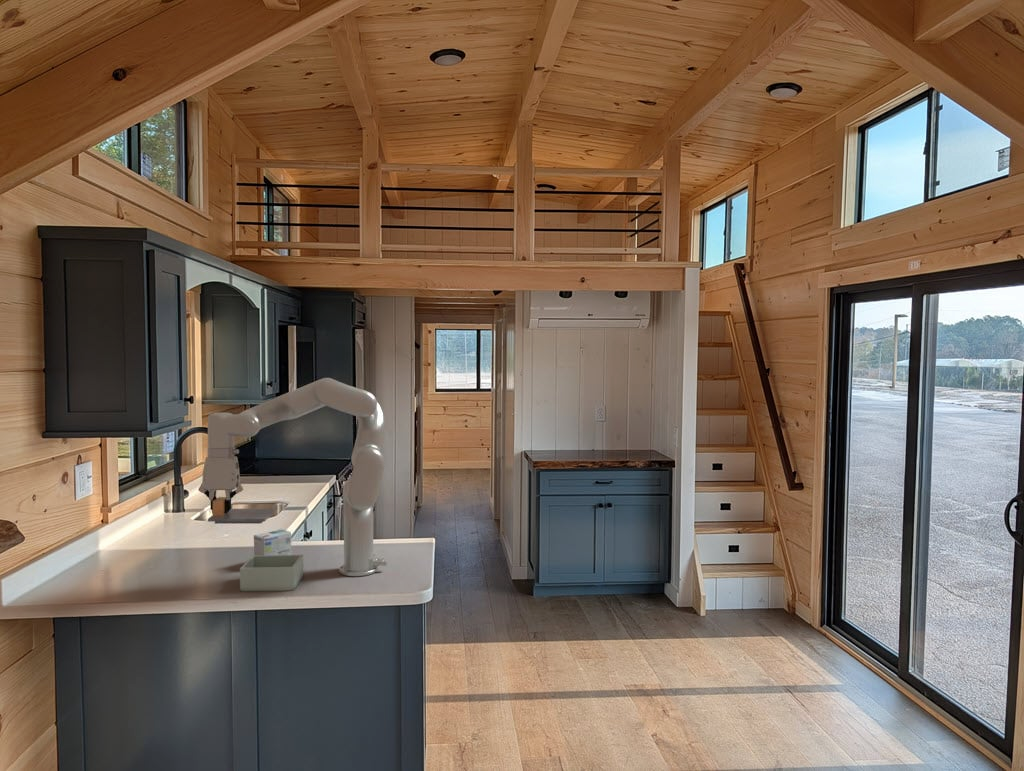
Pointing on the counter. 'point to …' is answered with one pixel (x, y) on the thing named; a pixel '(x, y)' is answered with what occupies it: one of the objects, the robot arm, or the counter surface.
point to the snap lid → (238, 514)
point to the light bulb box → (272, 543)
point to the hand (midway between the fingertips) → (220, 511)
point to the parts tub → (271, 573)
